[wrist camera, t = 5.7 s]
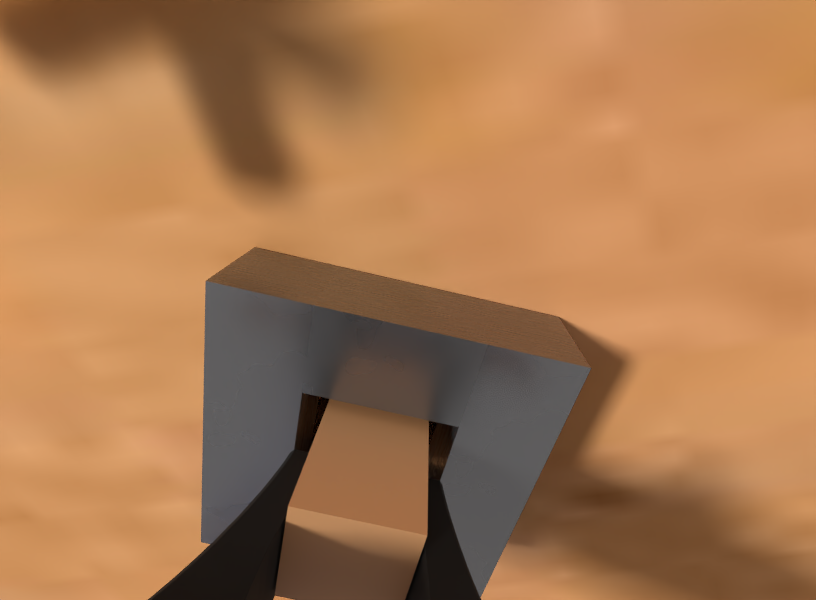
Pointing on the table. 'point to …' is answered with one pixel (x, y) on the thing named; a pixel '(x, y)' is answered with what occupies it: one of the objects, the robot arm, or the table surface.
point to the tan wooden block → (357, 508)
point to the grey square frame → (381, 385)
